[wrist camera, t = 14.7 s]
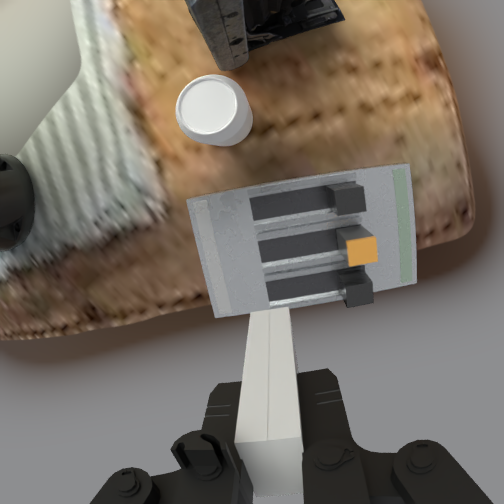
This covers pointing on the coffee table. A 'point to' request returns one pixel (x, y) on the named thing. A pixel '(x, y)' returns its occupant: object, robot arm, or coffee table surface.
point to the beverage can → (214, 111)
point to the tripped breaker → (357, 245)
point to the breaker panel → (304, 239)
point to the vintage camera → (256, 24)
